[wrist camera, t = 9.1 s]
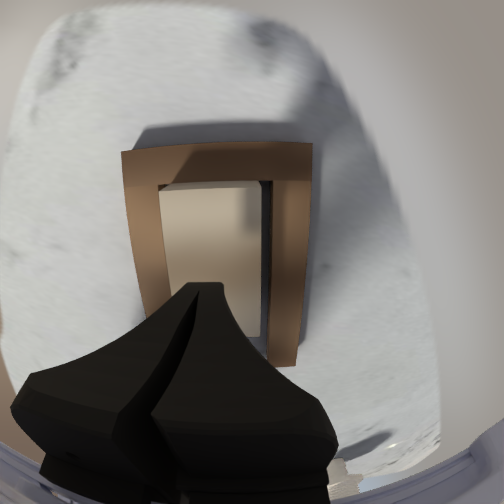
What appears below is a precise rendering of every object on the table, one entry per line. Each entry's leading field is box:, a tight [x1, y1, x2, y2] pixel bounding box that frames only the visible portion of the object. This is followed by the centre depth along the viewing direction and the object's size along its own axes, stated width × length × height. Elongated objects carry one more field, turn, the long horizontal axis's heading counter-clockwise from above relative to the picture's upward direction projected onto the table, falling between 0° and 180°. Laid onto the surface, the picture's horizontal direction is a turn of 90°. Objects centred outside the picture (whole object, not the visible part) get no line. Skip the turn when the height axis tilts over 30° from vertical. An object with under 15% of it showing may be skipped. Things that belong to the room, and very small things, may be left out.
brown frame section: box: [121, 142, 313, 367], centre depth 16 cm, size 15×10×2 cm, turn 0°
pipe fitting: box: [327, 458, 363, 500], centre depth 27 cm, size 6×7×8 cm
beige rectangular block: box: [159, 180, 261, 337], centre depth 15 cm, size 8×4×4 cm, turn 0°
